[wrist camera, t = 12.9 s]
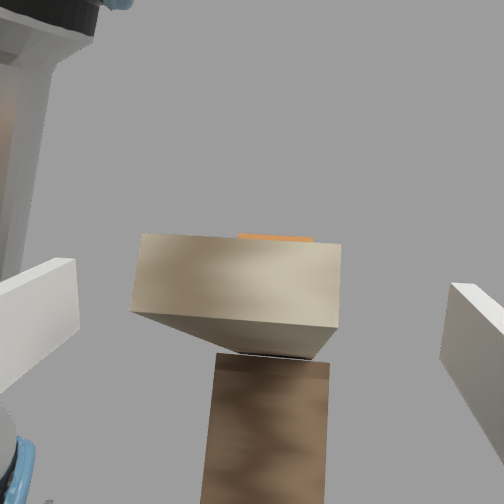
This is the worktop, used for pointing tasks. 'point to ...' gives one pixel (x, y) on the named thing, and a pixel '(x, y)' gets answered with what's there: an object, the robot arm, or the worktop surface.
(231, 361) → the stand
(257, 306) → the slat
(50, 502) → the beverage cup
